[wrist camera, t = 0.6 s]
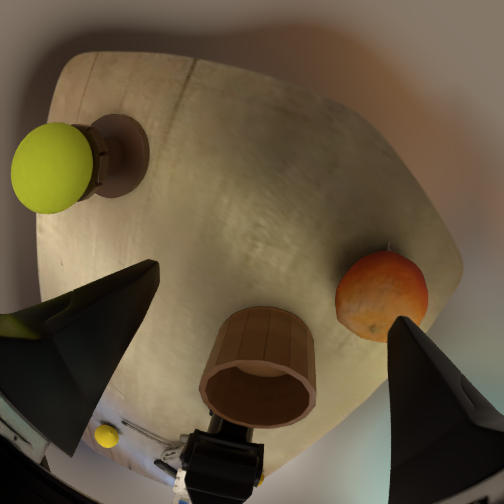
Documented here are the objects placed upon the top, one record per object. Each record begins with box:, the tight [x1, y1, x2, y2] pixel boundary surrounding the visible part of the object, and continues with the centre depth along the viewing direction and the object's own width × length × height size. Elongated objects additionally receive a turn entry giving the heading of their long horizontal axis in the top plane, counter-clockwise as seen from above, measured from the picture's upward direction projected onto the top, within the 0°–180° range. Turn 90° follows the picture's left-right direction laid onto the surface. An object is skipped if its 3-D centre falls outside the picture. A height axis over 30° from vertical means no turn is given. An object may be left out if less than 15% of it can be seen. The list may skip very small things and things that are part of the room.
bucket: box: [199, 307, 316, 429], centre depth 25 cm, size 10×10×8 cm
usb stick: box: [154, 460, 179, 479], centre depth 48 cm, size 10×3×2 cm, turn 25°
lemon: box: [95, 425, 119, 448], centre depth 42 cm, size 7×5×5 cm
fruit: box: [335, 241, 428, 343], centre depth 21 cm, size 8×8×8 cm
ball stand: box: [71, 114, 149, 202], centre depth 20 cm, size 8×8×6 cm
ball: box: [11, 123, 93, 214], centre depth 15 cm, size 7×7×7 cm
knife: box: [161, 446, 185, 463], centre depth 39 cm, size 2×18×3 cm
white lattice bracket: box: [172, 468, 254, 504], centre depth 39 cm, size 14×14×20 cm
